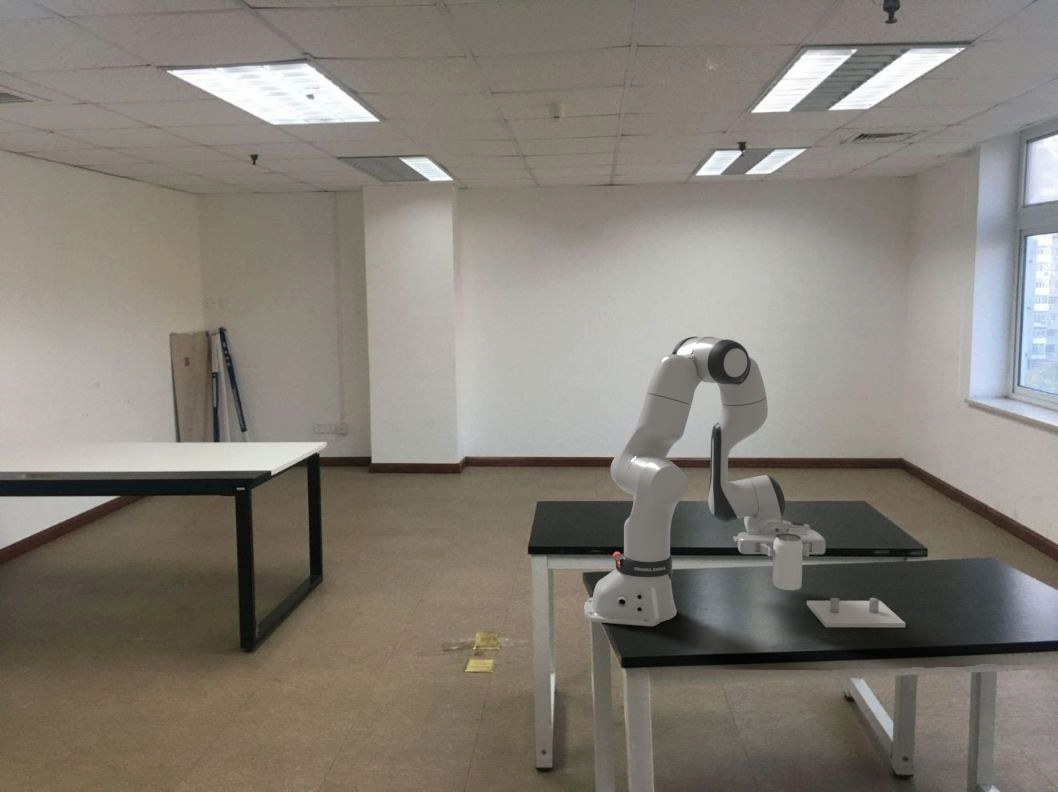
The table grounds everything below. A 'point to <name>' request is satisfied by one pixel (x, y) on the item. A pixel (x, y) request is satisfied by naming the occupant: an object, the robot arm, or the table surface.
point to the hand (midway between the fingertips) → (789, 553)
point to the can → (787, 562)
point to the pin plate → (854, 613)
